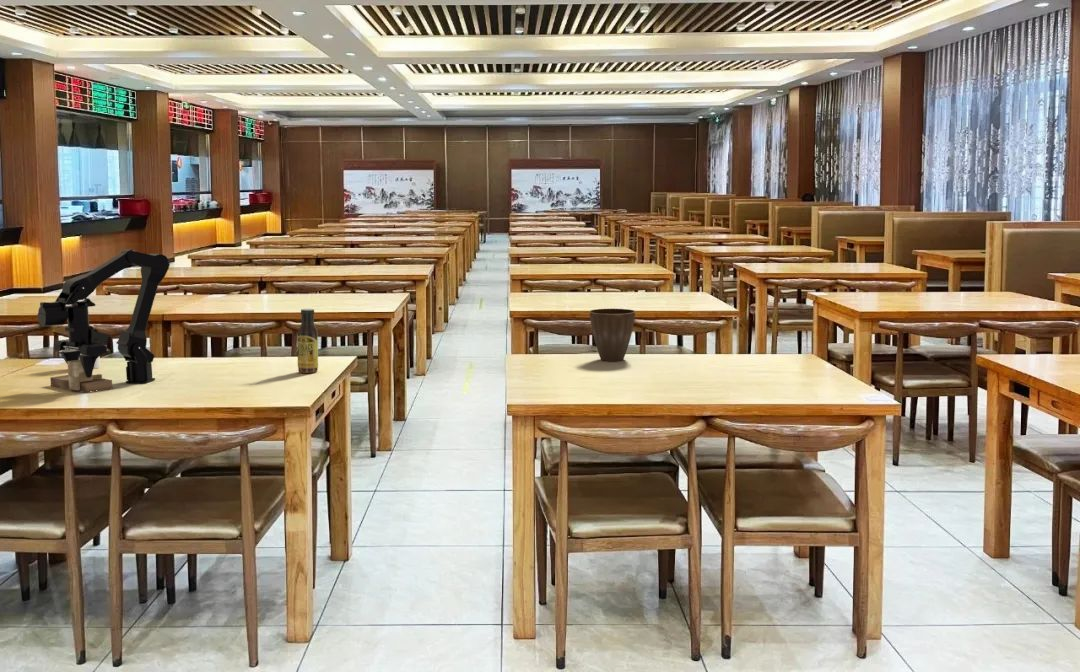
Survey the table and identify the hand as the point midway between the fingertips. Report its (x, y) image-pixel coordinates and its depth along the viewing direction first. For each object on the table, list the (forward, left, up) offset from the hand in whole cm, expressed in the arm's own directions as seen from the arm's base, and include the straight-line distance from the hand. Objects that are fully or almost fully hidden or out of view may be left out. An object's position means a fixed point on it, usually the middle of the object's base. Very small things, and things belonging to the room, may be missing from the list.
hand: (82, 376), depth 315 cm
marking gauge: (-1, -1, -3) cm, 4 cm away
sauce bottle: (-56, -33, -4) cm, 65 cm away
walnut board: (+3, -4, -4) cm, 7 cm away
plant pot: (-149, -62, -4) cm, 162 cm away
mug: (+20, -36, -4) cm, 41 cm away
